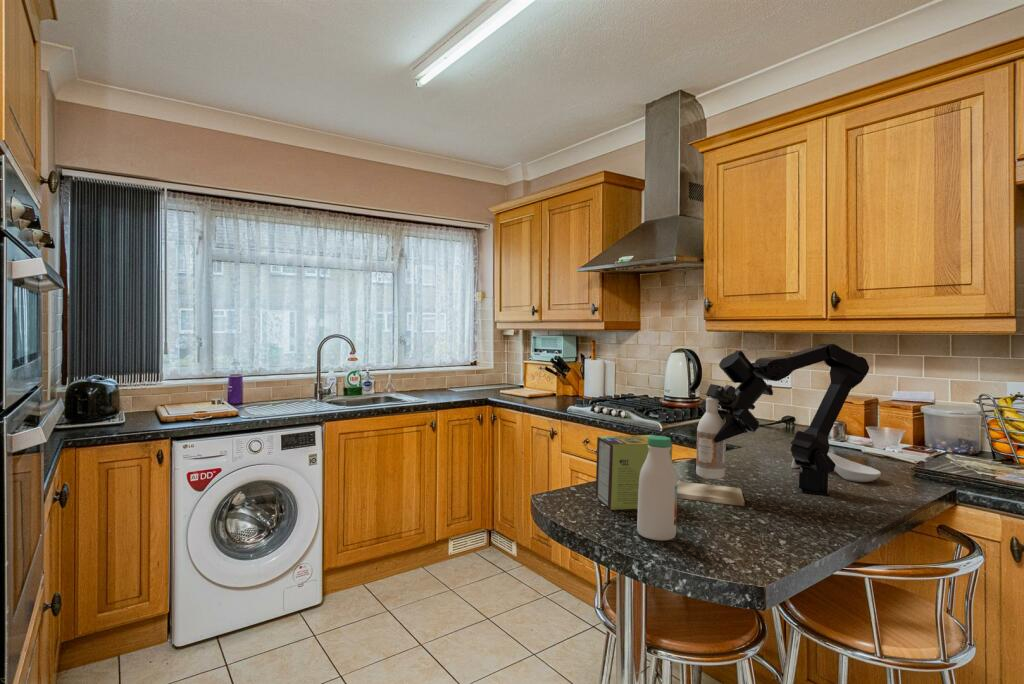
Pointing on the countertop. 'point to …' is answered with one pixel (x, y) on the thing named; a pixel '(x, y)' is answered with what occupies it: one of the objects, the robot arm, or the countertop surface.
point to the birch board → (710, 493)
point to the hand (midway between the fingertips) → (706, 438)
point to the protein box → (620, 469)
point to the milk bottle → (657, 492)
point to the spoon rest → (851, 469)
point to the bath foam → (710, 443)
